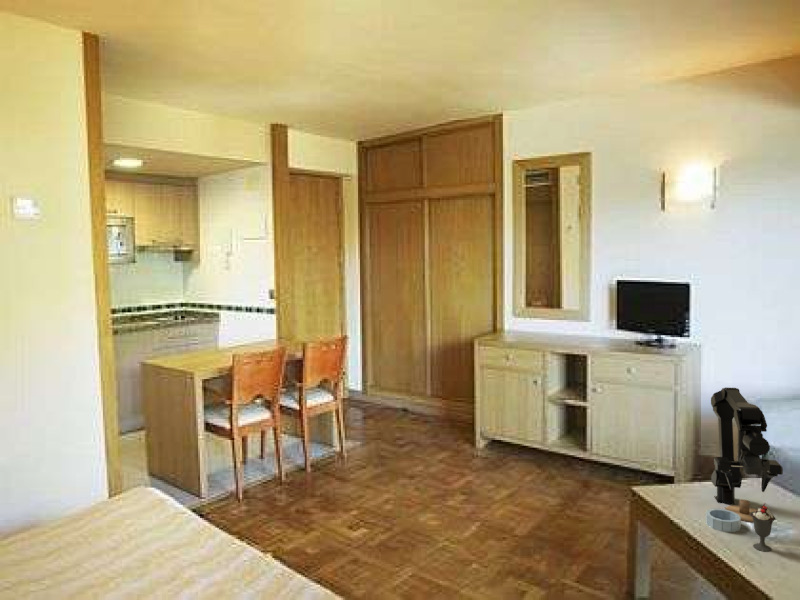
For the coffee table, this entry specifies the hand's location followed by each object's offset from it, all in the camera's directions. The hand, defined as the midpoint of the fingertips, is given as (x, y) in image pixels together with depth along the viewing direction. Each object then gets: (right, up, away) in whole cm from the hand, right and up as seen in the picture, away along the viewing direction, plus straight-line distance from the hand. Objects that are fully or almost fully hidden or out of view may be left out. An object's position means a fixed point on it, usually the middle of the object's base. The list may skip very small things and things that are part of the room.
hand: (747, 490), depth 191 cm
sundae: (-2, -14, -11) cm, 18 cm away
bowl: (-6, -13, +3) cm, 15 cm away
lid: (+5, -12, +10) cm, 16 cm away
